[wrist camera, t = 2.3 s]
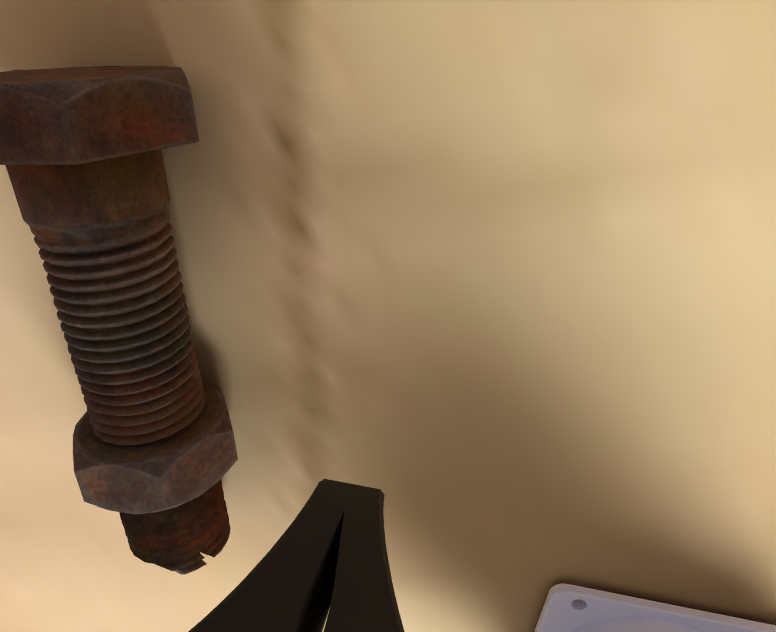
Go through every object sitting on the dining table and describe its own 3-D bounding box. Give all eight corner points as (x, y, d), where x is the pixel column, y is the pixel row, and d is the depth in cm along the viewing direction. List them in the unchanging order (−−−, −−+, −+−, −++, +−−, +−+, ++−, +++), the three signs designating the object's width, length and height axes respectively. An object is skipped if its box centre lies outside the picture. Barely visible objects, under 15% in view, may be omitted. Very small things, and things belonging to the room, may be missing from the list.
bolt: (207, 468, 23) (122, 62, 17) (296, 524, 21) (239, 65, 14) (63, 565, 19) (-127, 79, 13) (151, 652, 17) (-31, 89, 10)
